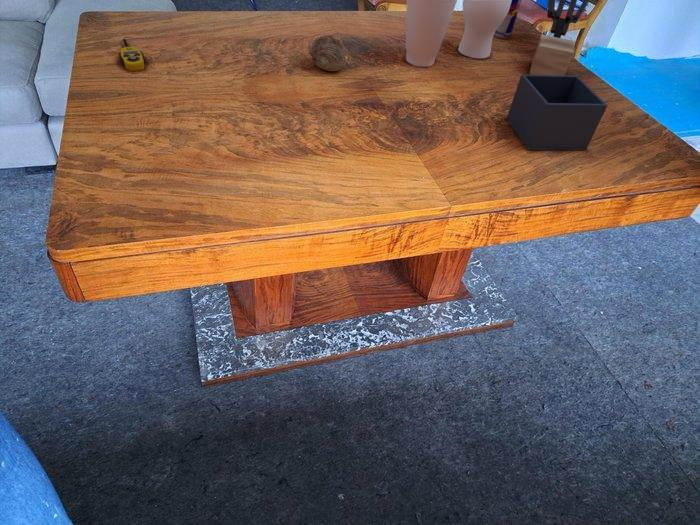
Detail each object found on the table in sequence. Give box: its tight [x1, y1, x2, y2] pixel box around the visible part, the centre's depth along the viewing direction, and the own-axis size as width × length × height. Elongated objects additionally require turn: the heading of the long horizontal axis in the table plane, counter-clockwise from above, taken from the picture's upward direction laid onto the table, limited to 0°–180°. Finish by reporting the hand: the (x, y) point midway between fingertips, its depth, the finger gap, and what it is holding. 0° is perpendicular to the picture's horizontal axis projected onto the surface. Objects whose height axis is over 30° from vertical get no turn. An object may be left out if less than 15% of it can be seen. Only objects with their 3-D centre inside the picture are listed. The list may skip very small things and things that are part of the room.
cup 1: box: [404, 0, 458, 68], centre depth 119 cm, size 12×12×16 cm
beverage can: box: [494, 0, 522, 39], centre depth 136 cm, size 5×5×15 cm
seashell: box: [307, 35, 347, 72], centre depth 114 cm, size 9×7×8 cm
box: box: [506, 74, 608, 151], centre depth 100 cm, size 12×12×10 cm
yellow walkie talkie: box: [118, 38, 146, 72], centre depth 111 cm, size 5×2×15 cm
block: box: [529, 34, 575, 76], centre depth 124 cm, size 8×8×7 cm
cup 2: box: [457, 0, 512, 59], centre depth 125 cm, size 11×11×16 cm
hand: (554, 45), depth 127 cm, fingers closed
